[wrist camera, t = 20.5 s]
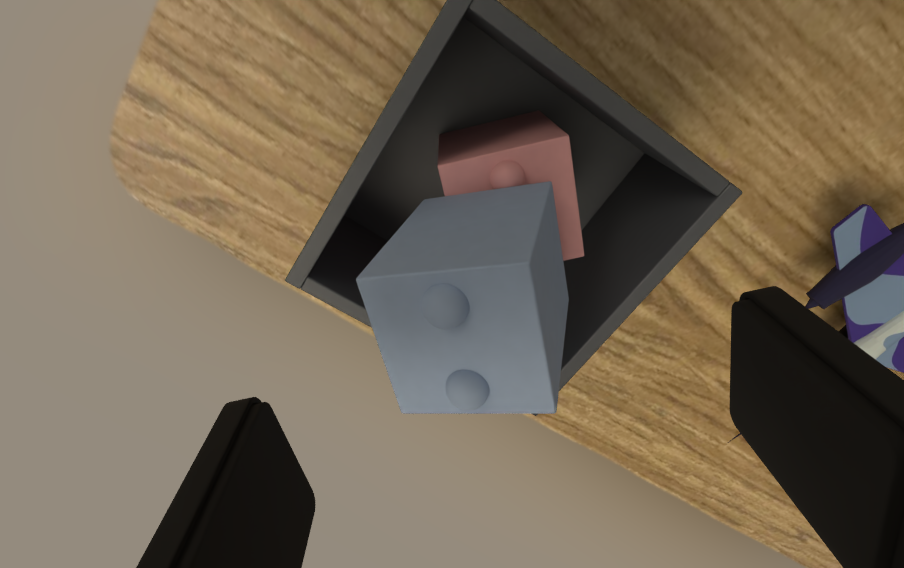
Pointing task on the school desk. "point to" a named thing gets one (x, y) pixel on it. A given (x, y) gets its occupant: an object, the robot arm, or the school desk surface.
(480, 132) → the pink toy
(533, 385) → the block
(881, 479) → the robot arm
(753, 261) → the school desk surface
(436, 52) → the bin
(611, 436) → the school desk surface
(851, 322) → the toy airplane
